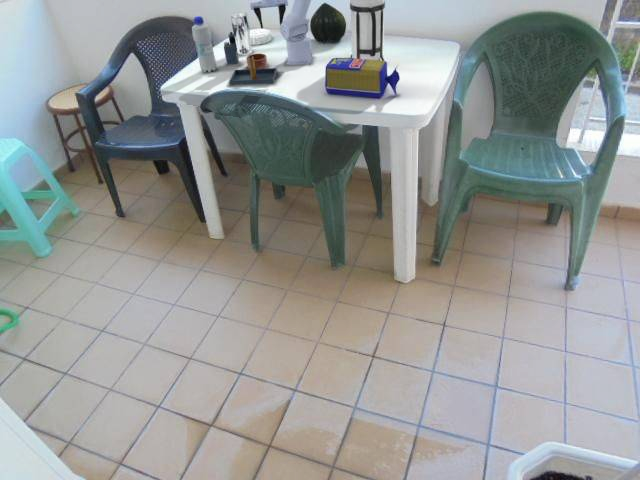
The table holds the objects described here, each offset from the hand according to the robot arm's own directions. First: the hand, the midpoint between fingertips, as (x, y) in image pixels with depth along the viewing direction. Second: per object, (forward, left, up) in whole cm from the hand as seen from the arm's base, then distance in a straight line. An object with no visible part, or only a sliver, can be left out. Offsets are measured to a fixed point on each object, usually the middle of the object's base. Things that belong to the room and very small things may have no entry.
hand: (271, 26), depth 193 cm
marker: (+4, +27, -10) cm, 29 cm away
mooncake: (+10, -17, -11) cm, 22 cm away
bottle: (+24, +16, -11) cm, 31 cm away
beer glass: (+13, -2, -11) cm, 17 cm away
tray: (+4, +27, -10) cm, 29 cm away
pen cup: (+5, +15, -10) cm, 19 cm away
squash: (-21, -13, -11) cm, 27 cm away
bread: (-35, +41, -11) cm, 55 cm away
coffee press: (-38, +14, -11) cm, 42 cm away
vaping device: (+15, +10, -8) cm, 20 cm away
